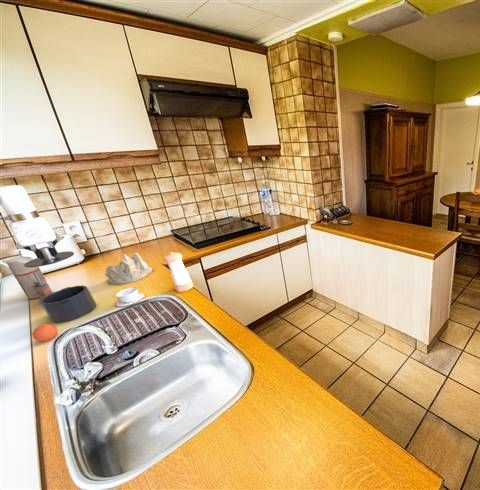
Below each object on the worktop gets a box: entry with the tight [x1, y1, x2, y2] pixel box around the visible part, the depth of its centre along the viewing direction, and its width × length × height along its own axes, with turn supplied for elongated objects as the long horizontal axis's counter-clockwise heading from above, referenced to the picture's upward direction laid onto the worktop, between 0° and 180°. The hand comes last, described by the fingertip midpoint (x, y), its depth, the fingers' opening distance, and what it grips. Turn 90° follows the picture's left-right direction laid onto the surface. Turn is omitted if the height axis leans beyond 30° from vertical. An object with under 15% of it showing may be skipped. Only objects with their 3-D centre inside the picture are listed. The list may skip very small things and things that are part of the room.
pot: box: [39, 285, 98, 324], centre depth 113 cm, size 14×19×10 cm
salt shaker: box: [163, 251, 194, 293], centre depth 125 cm, size 7×7×19 cm
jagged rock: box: [104, 252, 154, 285], centre depth 140 cm, size 16×16×15 cm
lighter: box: [32, 280, 53, 301], centre depth 124 cm, size 8×3×10 cm, turn 73°
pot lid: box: [24, 246, 75, 268], centre depth 113 cm, size 15×15×6 cm
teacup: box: [115, 287, 145, 307], centre depth 120 cm, size 10×10×5 cm
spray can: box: [6, 256, 53, 300], centre depth 126 cm, size 8×8×20 cm
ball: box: [31, 323, 59, 342], centre depth 98 cm, size 6×6×6 cm
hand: (48, 257), depth 114 cm, fingers closed on pot lid, 3 cm apart
